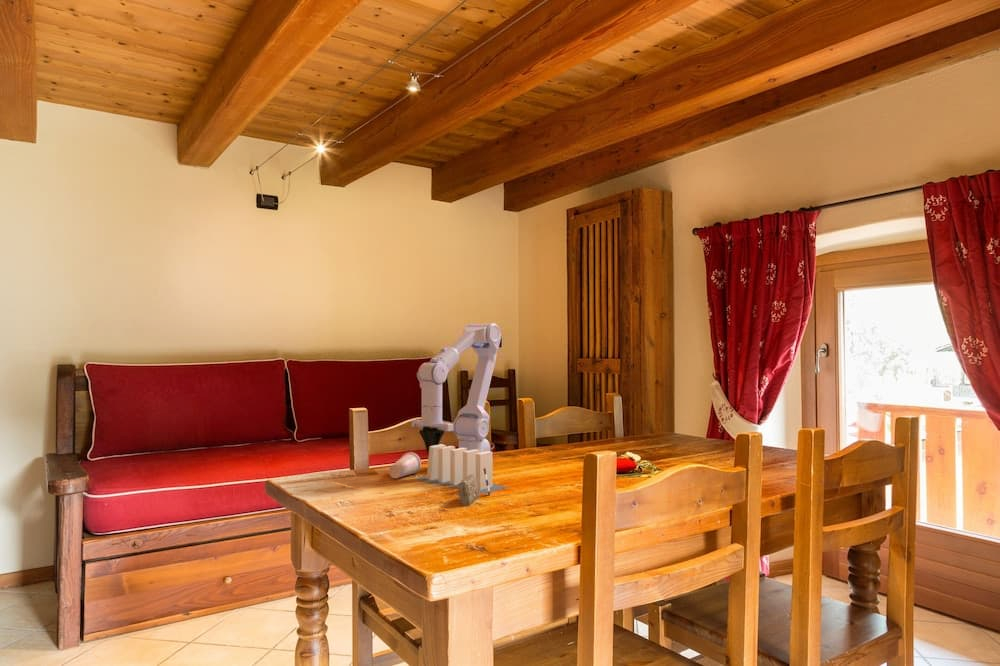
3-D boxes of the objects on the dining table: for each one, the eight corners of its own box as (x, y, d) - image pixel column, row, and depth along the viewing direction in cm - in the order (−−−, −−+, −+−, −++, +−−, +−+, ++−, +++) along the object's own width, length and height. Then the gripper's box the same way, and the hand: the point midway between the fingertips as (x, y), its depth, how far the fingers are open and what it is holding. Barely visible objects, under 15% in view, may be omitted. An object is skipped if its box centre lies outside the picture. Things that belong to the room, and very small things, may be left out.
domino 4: (462, 486, 165) (462, 451, 165) (475, 483, 169) (475, 449, 169) (467, 487, 164) (467, 452, 164) (479, 484, 168) (479, 450, 168)
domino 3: (450, 484, 168) (450, 449, 168) (462, 480, 172) (462, 447, 172) (454, 484, 167) (454, 450, 167) (466, 481, 171) (466, 448, 171)
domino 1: (426, 478, 174) (429, 446, 173) (438, 475, 178) (442, 444, 177) (430, 480, 173) (433, 447, 172) (443, 477, 177) (446, 445, 176)
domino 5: (475, 489, 162) (475, 453, 163) (487, 485, 166) (487, 451, 166) (480, 489, 161) (480, 454, 162) (492, 486, 165) (492, 451, 165)
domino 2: (438, 481, 171) (438, 448, 171) (450, 478, 175) (450, 445, 175) (442, 482, 170) (442, 448, 170) (454, 479, 174) (454, 446, 174)
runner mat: (437, 474, 182) (437, 473, 182) (508, 488, 165) (508, 486, 165) (411, 480, 174) (411, 479, 174) (483, 495, 157) (483, 493, 157)
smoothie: (409, 477, 172) (432, 464, 185) (398, 456, 173) (422, 444, 186) (391, 487, 174) (415, 473, 187) (380, 466, 175) (405, 454, 188)
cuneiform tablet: (490, 496, 157) (479, 508, 145) (473, 499, 158) (460, 511, 146) (485, 467, 157) (473, 477, 146) (468, 470, 158) (454, 480, 147)
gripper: (403, 405, 178) (403, 454, 178) (440, 408, 169) (440, 460, 168) (422, 403, 183) (421, 450, 183) (458, 406, 174) (458, 456, 174)
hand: (431, 455), depth 176 cm, fingers closed
